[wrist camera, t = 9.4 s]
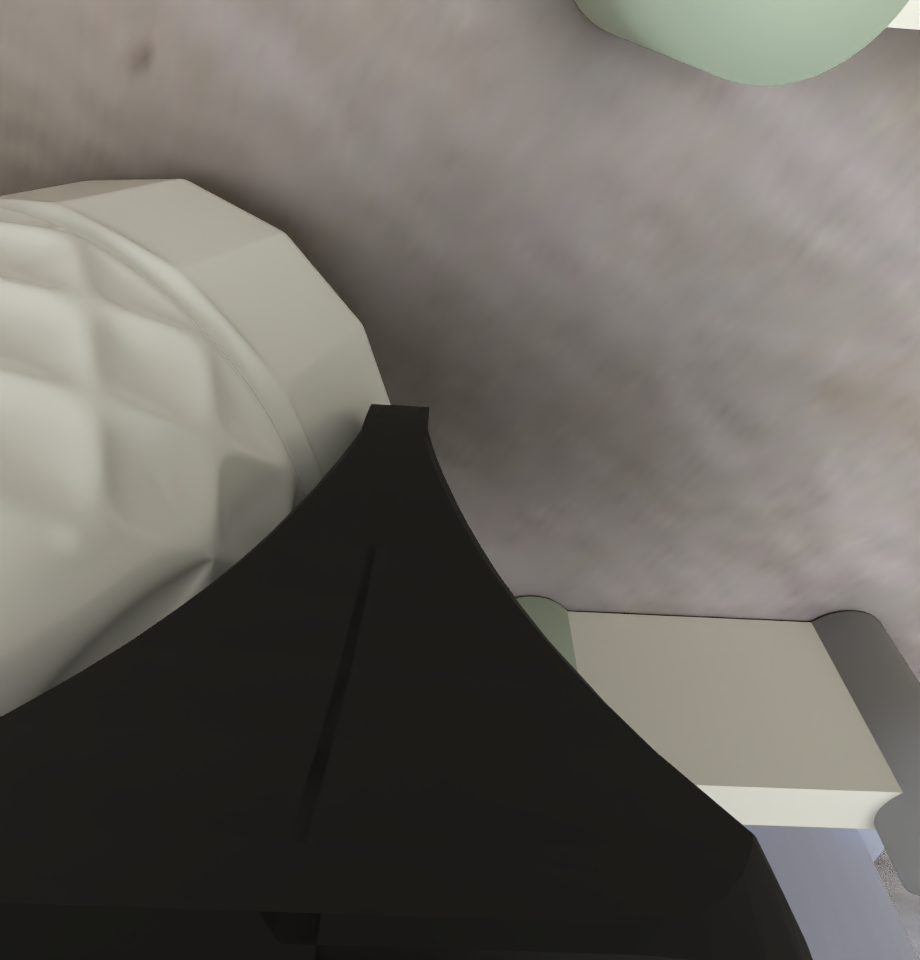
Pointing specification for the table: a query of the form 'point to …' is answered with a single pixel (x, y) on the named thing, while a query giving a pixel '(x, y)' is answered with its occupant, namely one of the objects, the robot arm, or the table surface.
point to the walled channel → (761, 643)
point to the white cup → (152, 408)
